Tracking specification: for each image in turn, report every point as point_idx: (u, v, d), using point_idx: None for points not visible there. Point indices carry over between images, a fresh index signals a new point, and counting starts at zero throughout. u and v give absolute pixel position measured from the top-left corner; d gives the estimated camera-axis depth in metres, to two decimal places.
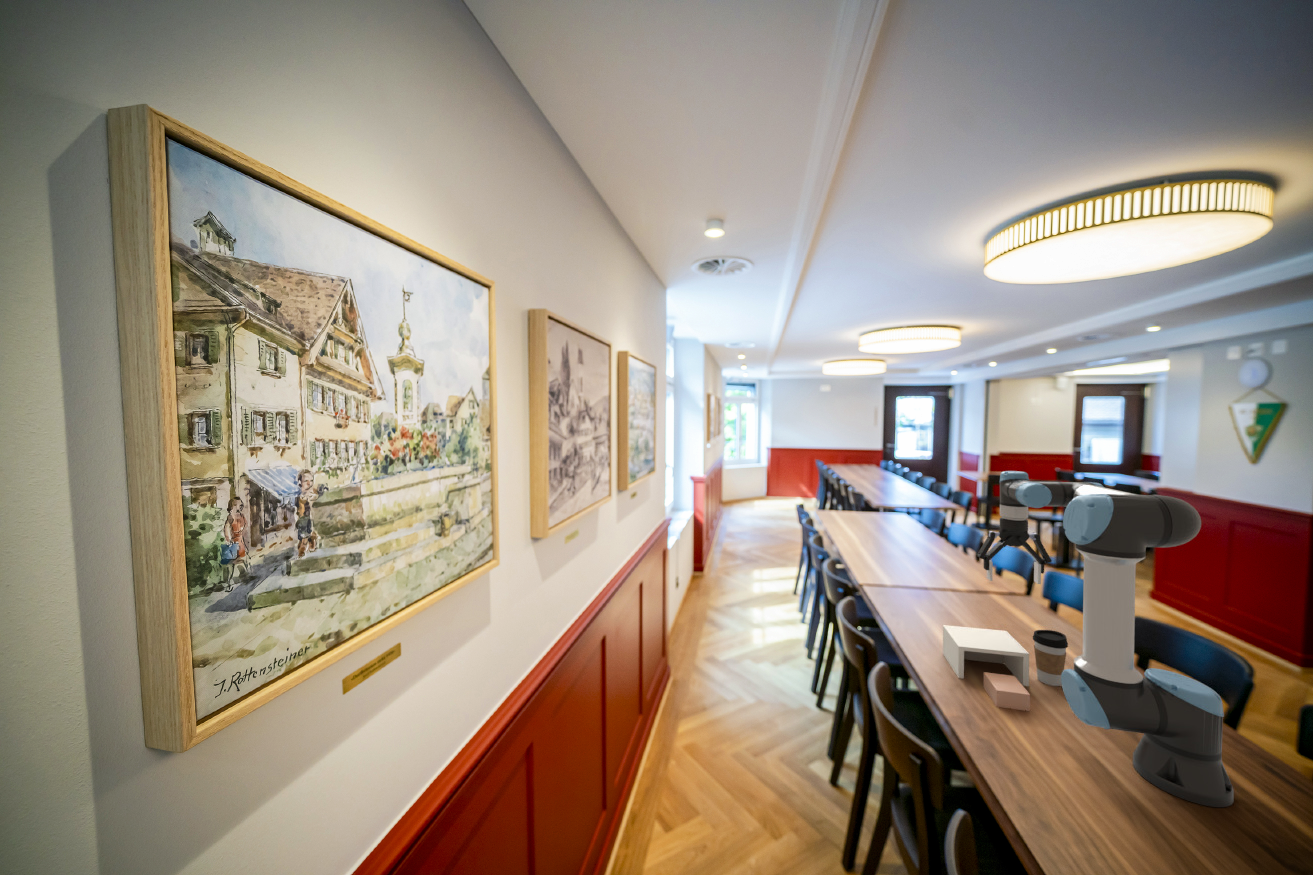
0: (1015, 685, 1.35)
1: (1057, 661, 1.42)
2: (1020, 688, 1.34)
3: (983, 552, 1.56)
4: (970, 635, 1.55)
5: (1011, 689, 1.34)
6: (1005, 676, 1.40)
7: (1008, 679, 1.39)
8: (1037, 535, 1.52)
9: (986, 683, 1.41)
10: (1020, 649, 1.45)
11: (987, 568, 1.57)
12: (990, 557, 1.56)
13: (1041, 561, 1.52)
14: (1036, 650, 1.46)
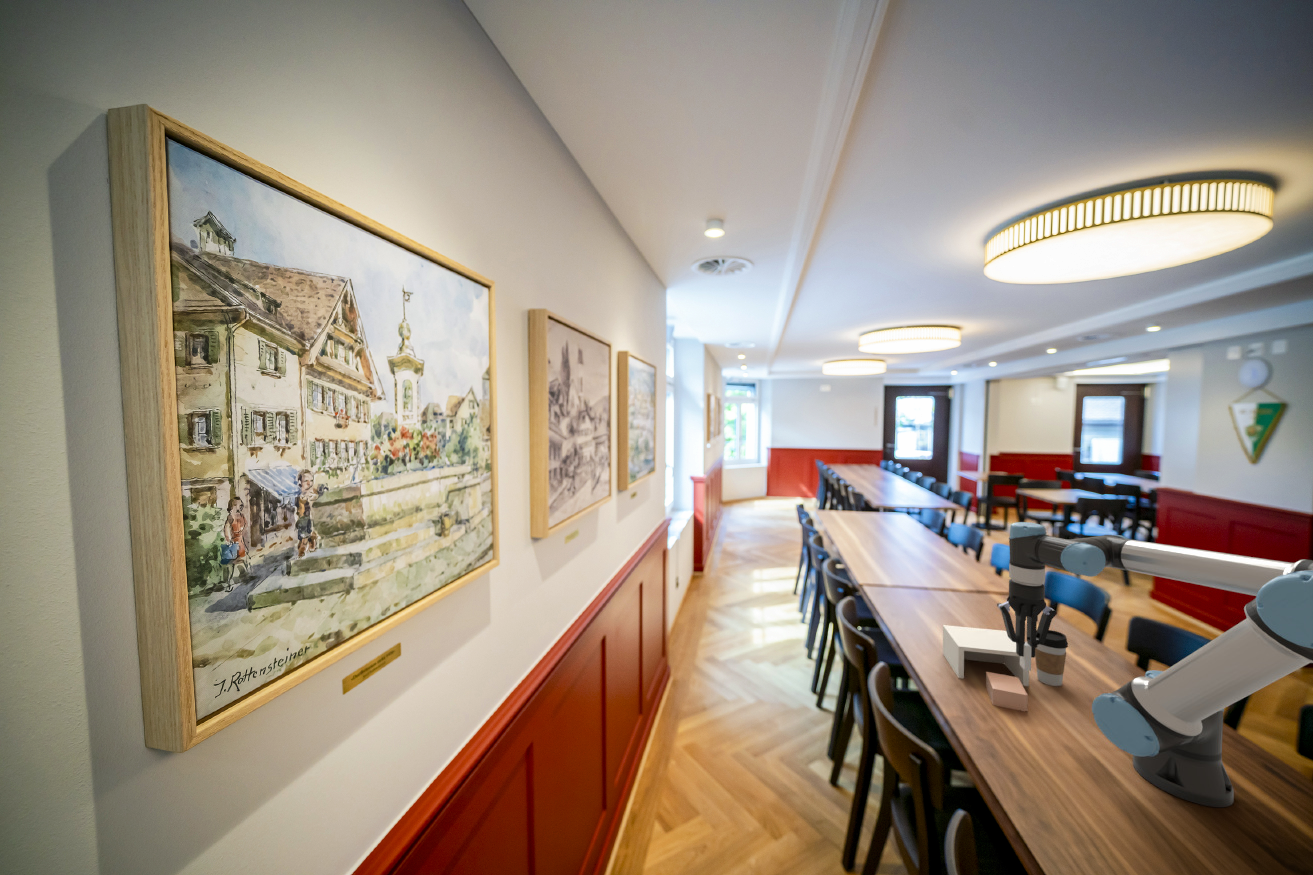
0: (1014, 686, 1.35)
1: (1057, 661, 1.42)
2: (1019, 688, 1.34)
3: (1011, 633, 1.25)
4: (970, 635, 1.55)
5: (1009, 688, 1.34)
6: (1008, 677, 1.40)
7: (1010, 680, 1.38)
8: (1054, 612, 1.22)
9: (987, 682, 1.41)
10: None
11: (1021, 654, 1.25)
12: (1022, 639, 1.24)
13: (1033, 642, 1.23)
14: (1036, 650, 1.46)
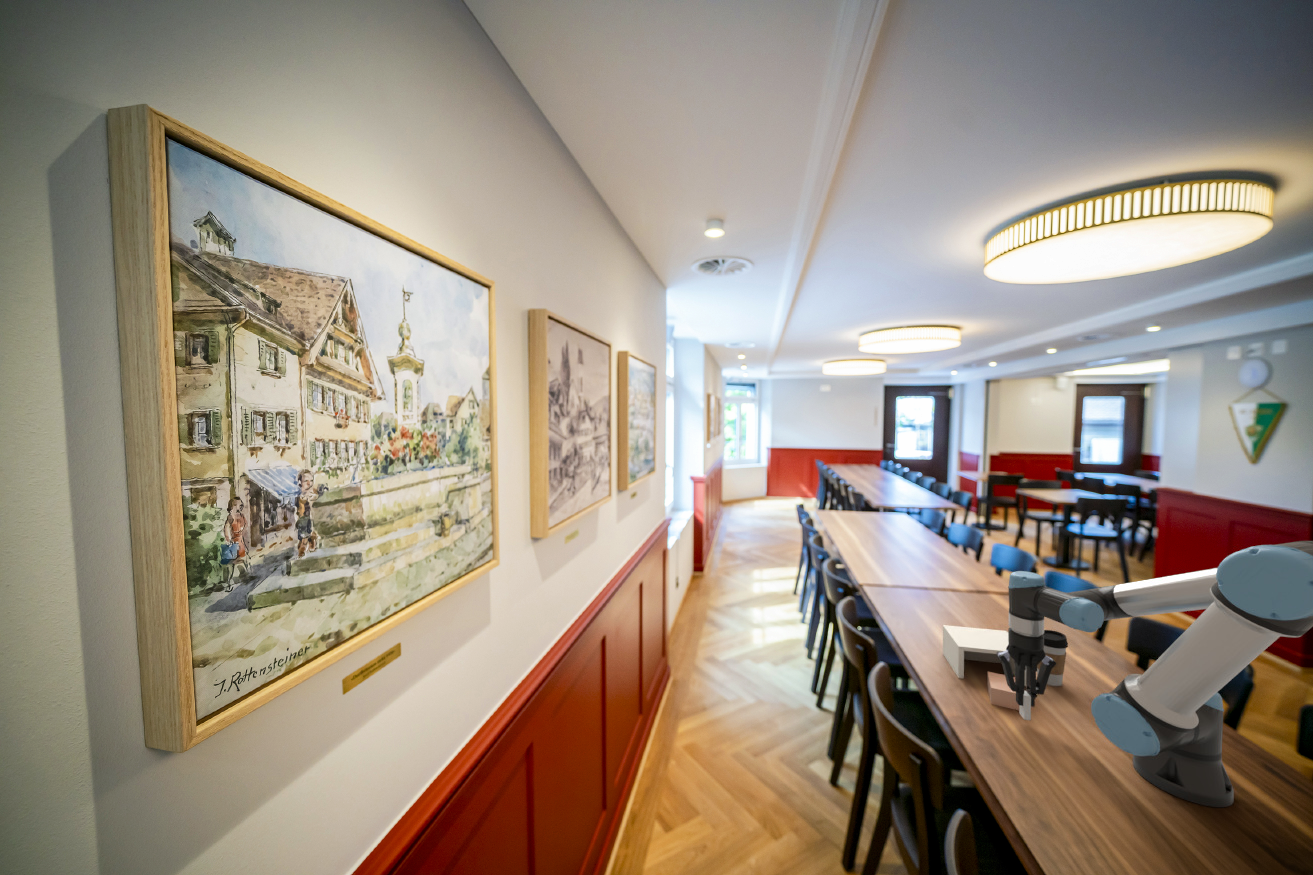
0: None
1: (1057, 661, 1.42)
2: None
3: (1011, 683, 1.25)
4: (970, 635, 1.55)
5: (1008, 688, 1.34)
6: None
7: None
8: (1053, 662, 1.22)
9: (988, 682, 1.41)
10: None
11: (1021, 703, 1.25)
12: (1022, 688, 1.25)
13: (1032, 692, 1.24)
14: None
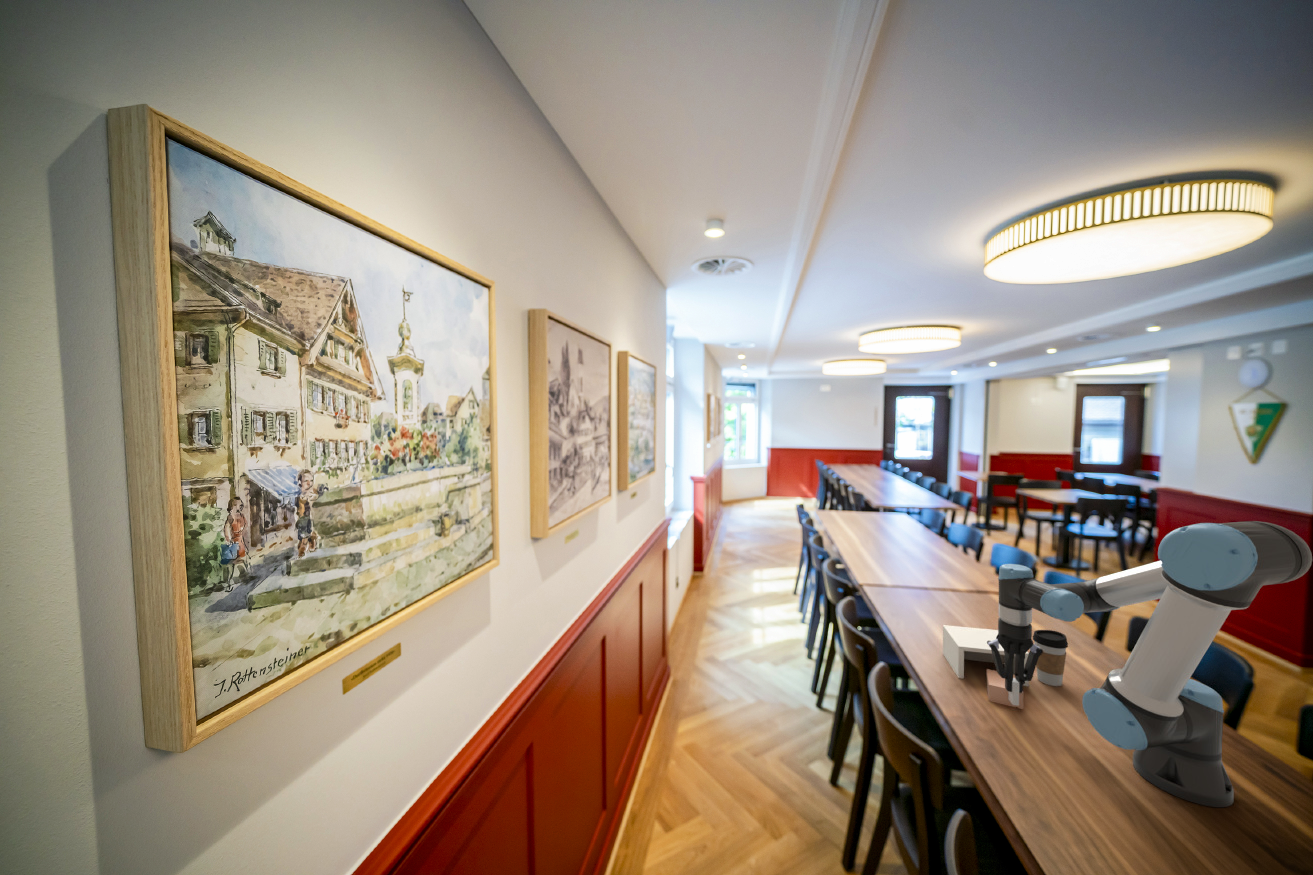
0: None
1: (1057, 661, 1.42)
2: None
3: (1000, 670, 1.31)
4: (970, 635, 1.55)
5: None
6: None
7: None
8: (1040, 650, 1.28)
9: None
10: None
11: (1009, 689, 1.31)
12: (1011, 675, 1.31)
13: (1020, 678, 1.30)
14: None
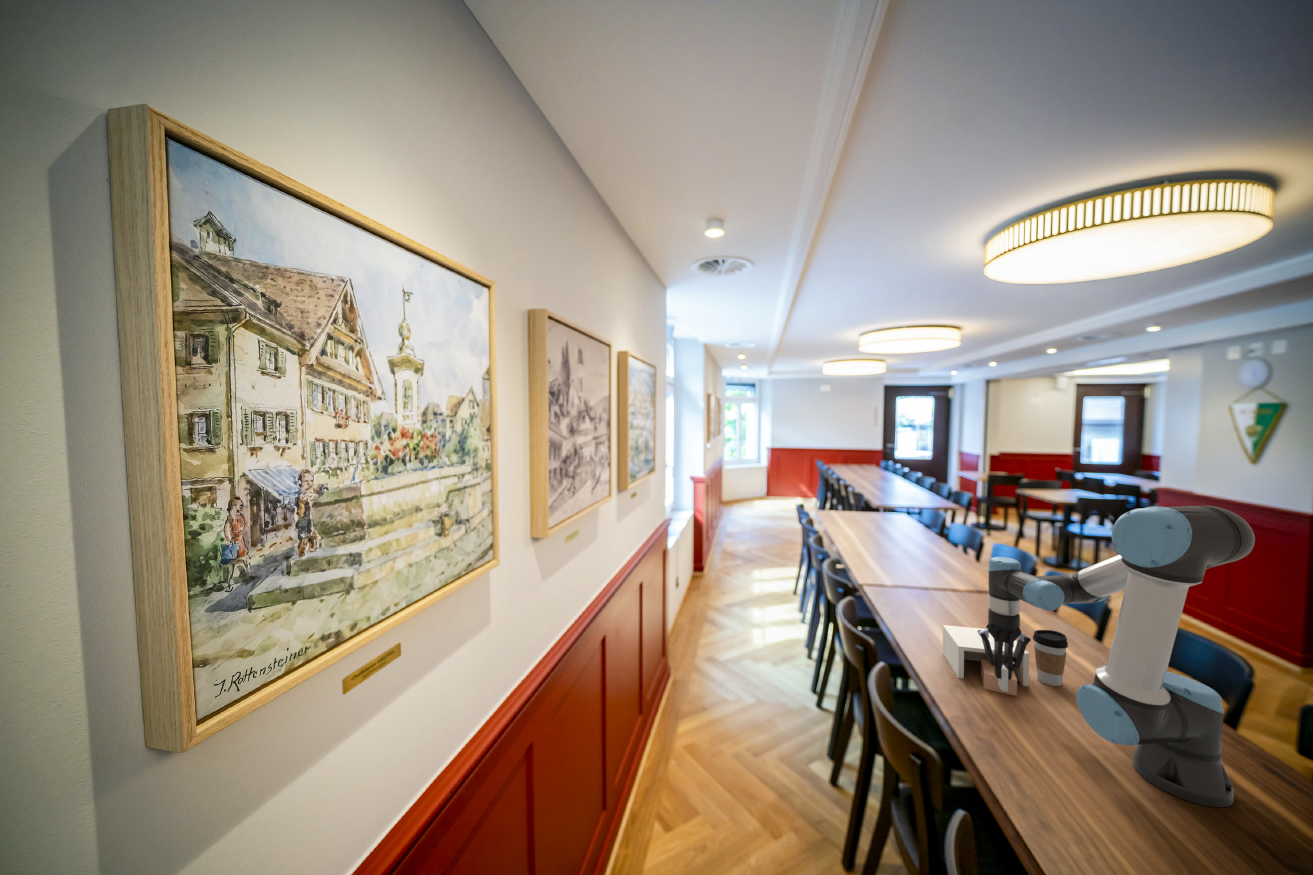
0: None
1: (1057, 661, 1.42)
2: None
3: (990, 658, 1.38)
4: (970, 635, 1.55)
5: None
6: None
7: None
8: (1028, 639, 1.35)
9: (981, 668, 1.49)
10: None
11: (999, 676, 1.38)
12: (1000, 663, 1.37)
13: (1009, 666, 1.37)
14: (1036, 650, 1.46)
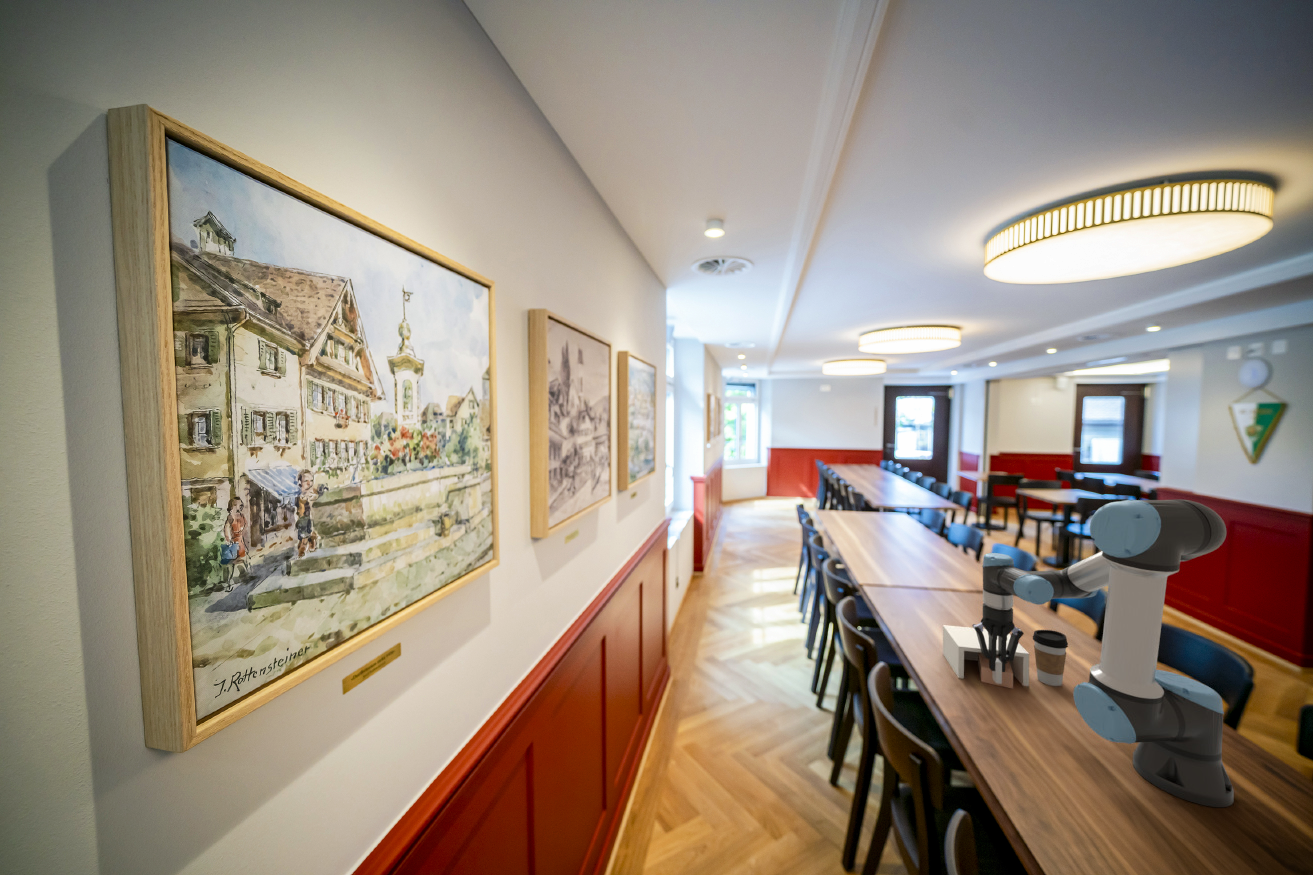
0: None
1: (1057, 661, 1.42)
2: (1007, 667, 1.45)
3: (984, 651, 1.42)
4: (970, 635, 1.55)
5: None
6: (998, 657, 1.51)
7: None
8: (1021, 632, 1.39)
9: None
10: (1020, 649, 1.45)
11: (993, 669, 1.42)
12: (994, 656, 1.42)
13: (1003, 658, 1.41)
14: (1036, 650, 1.46)
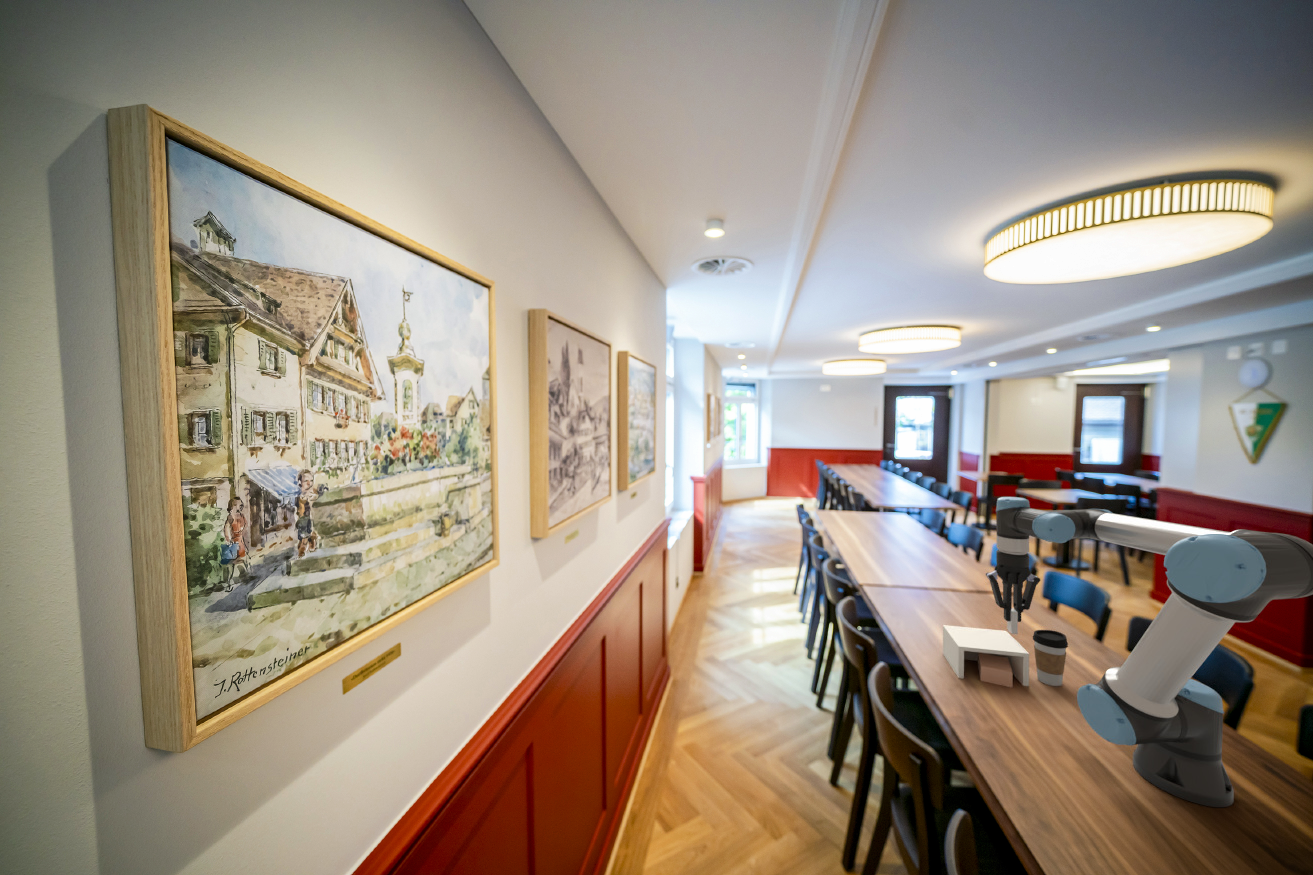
0: (1002, 664, 1.47)
1: (1057, 661, 1.42)
2: (1006, 666, 1.46)
3: (999, 600, 1.34)
4: (970, 635, 1.55)
5: (996, 666, 1.46)
6: (997, 657, 1.52)
7: (999, 659, 1.50)
8: (1038, 579, 1.32)
9: (978, 661, 1.53)
10: (1020, 649, 1.45)
11: (1008, 619, 1.34)
12: (1009, 605, 1.34)
13: (1019, 607, 1.33)
14: (1036, 650, 1.46)
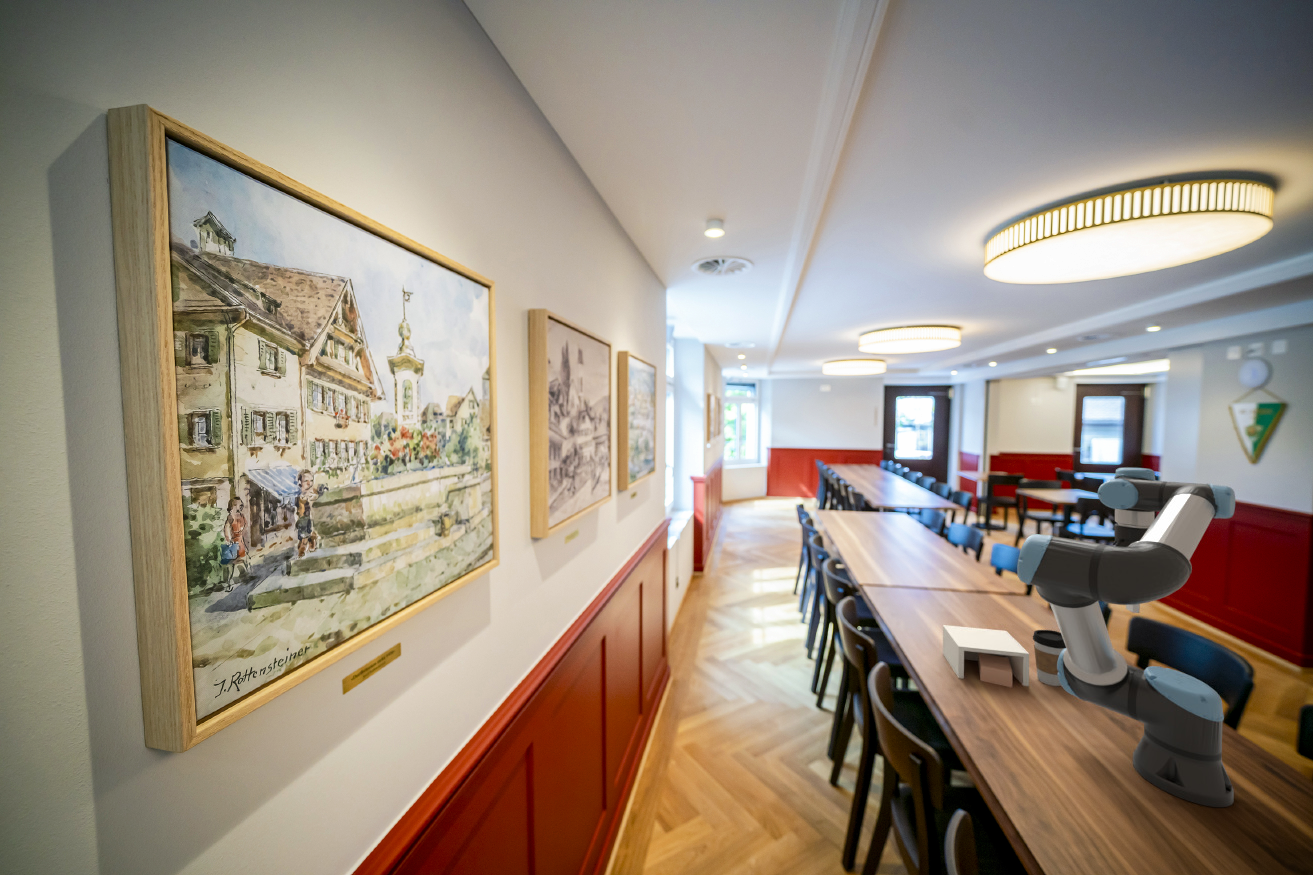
0: (1002, 664, 1.47)
1: (1057, 661, 1.42)
2: (1006, 666, 1.46)
3: None
4: (970, 635, 1.55)
5: (996, 666, 1.46)
6: (998, 657, 1.52)
7: (999, 659, 1.50)
8: None
9: (978, 661, 1.53)
10: (1020, 649, 1.45)
11: None
12: None
13: None
14: (1036, 650, 1.46)
